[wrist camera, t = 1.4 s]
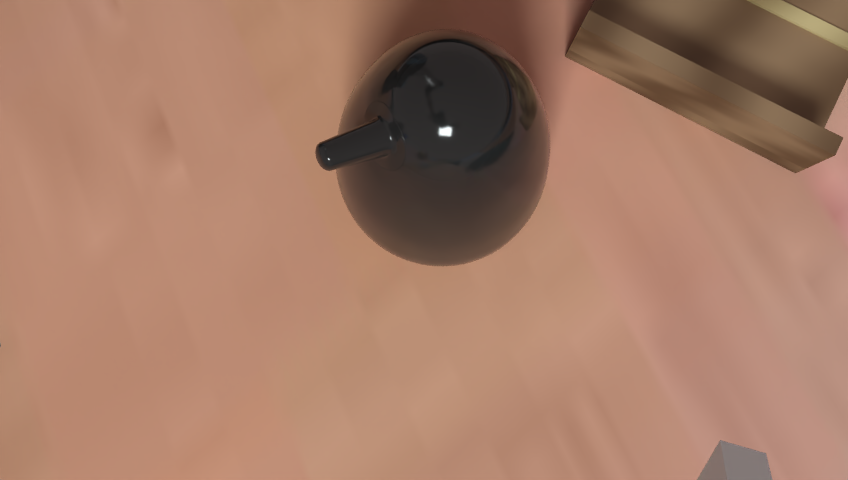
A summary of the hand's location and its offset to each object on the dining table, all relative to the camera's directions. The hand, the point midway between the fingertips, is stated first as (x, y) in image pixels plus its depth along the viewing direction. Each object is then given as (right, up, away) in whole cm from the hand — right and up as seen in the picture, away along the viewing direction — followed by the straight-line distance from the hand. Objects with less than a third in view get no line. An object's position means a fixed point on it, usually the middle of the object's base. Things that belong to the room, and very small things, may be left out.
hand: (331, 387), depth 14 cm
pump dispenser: (+2, +6, +28) cm, 29 cm away
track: (+19, +16, +30) cm, 39 cm away
